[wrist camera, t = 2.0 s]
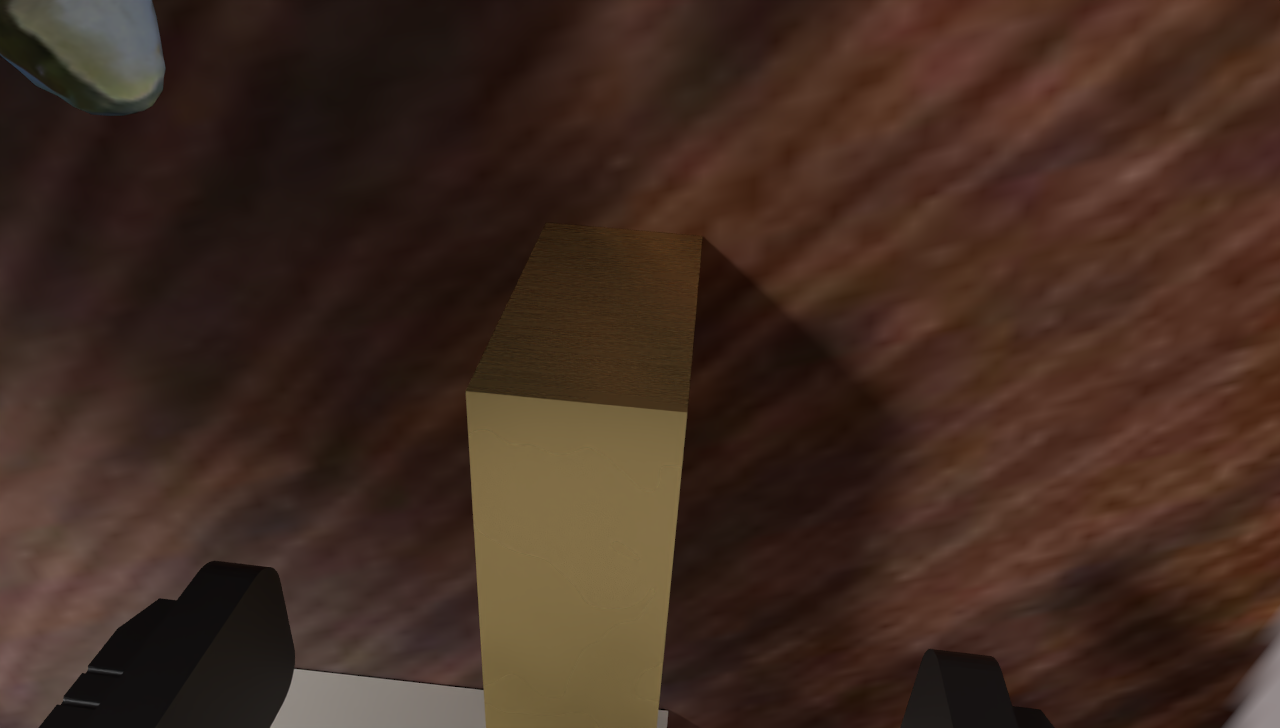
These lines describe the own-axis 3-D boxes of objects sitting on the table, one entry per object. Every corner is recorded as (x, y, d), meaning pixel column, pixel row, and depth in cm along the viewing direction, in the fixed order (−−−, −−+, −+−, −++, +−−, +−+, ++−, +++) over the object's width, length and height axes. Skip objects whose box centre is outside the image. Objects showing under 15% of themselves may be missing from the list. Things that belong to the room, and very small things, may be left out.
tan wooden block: (546, 220, 14) (465, 391, 10) (702, 234, 14) (687, 412, 10) (547, 507, 17) (486, 730, 13) (675, 521, 17) (654, 749, 13)
